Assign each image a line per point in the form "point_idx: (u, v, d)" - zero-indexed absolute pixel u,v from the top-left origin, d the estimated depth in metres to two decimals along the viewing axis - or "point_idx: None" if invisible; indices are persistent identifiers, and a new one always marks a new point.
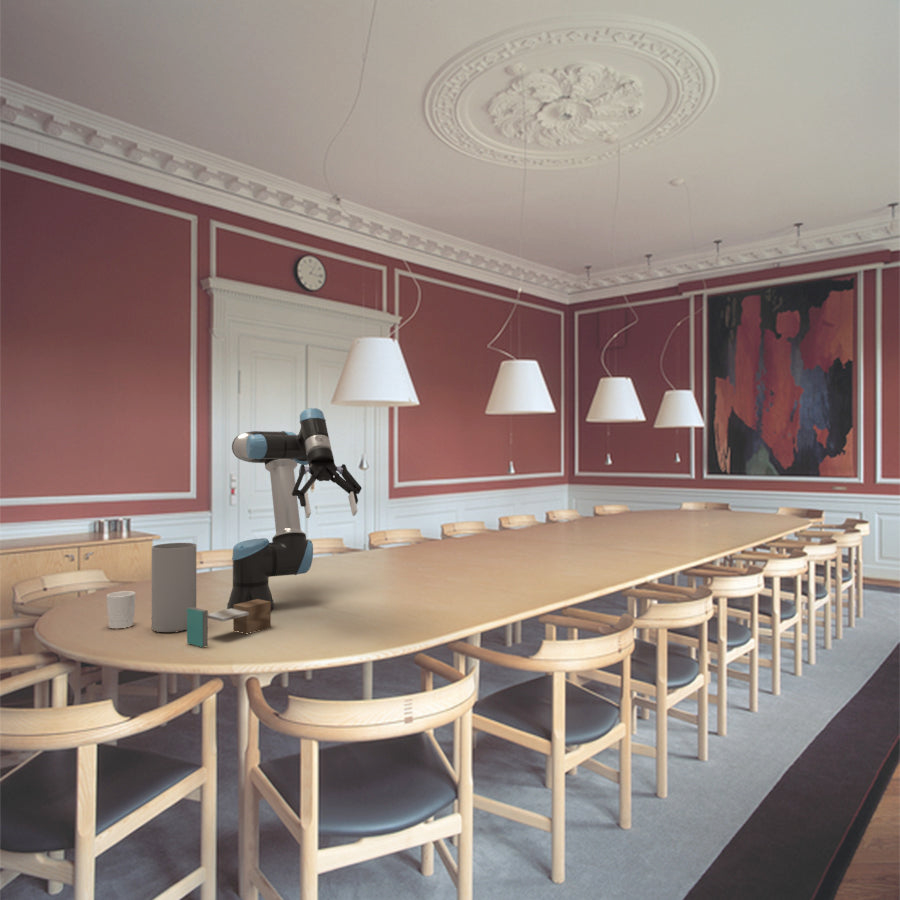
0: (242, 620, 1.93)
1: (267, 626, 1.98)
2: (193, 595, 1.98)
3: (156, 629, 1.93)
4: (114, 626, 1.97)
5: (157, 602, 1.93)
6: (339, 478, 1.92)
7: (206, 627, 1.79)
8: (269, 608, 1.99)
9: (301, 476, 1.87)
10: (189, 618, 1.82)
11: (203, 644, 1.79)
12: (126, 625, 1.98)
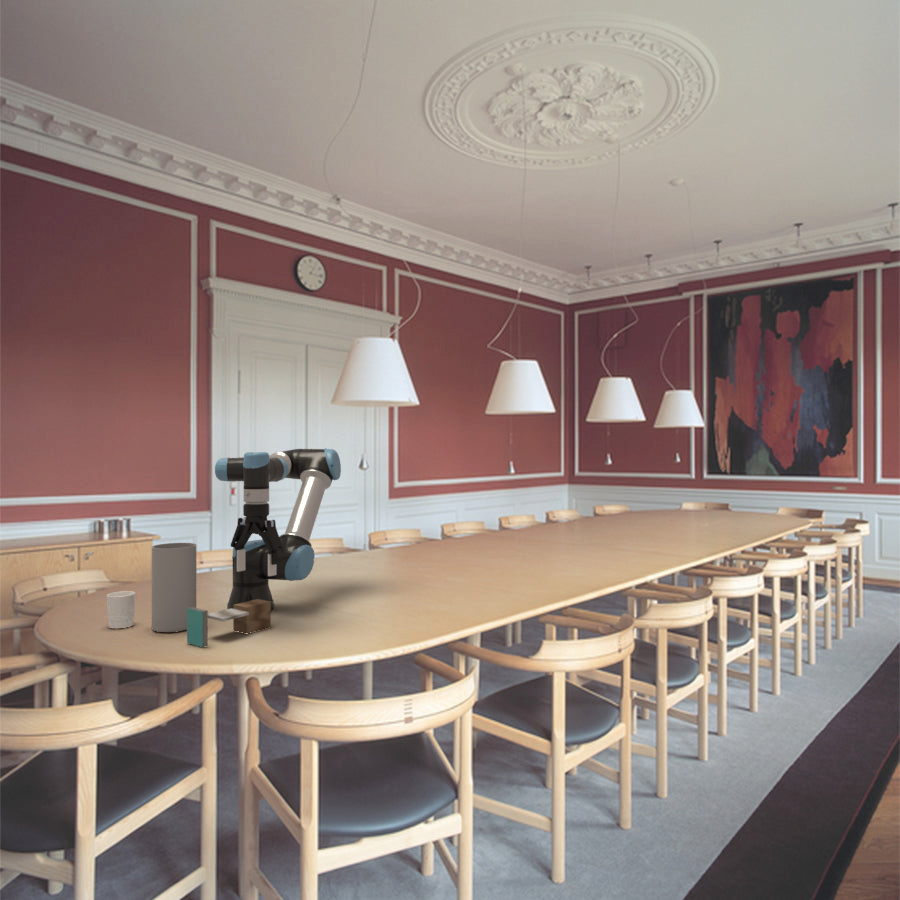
0: (242, 620, 1.93)
1: (267, 626, 1.98)
2: (193, 595, 1.98)
3: (156, 629, 1.93)
4: (114, 626, 1.97)
5: (157, 602, 1.93)
6: (262, 537, 1.94)
7: (206, 627, 1.79)
8: (269, 608, 1.99)
9: (237, 531, 2.00)
10: (189, 618, 1.82)
11: (203, 644, 1.79)
12: (126, 625, 1.98)
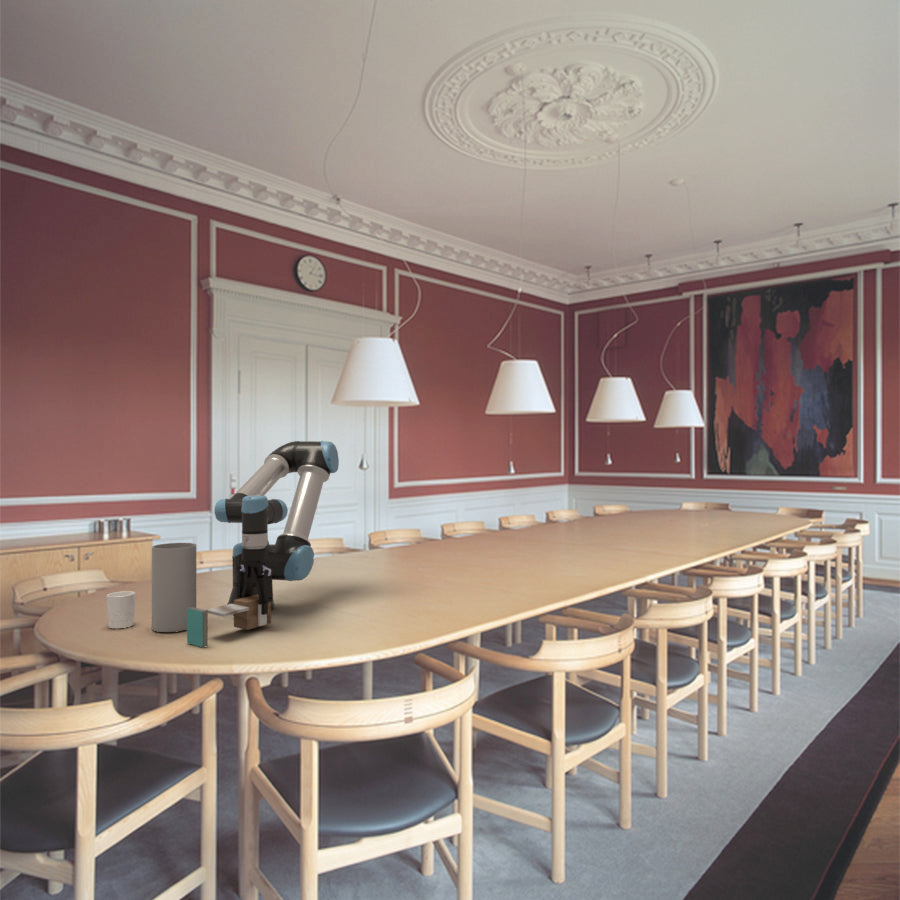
0: (242, 616, 1.93)
1: (267, 621, 1.98)
2: (193, 595, 1.98)
3: (156, 629, 1.93)
4: (114, 626, 1.97)
5: (157, 602, 1.93)
6: (257, 583, 1.95)
7: (206, 627, 1.79)
8: (269, 603, 1.99)
9: (239, 579, 2.00)
10: (189, 618, 1.82)
11: (203, 644, 1.79)
12: (126, 625, 1.98)
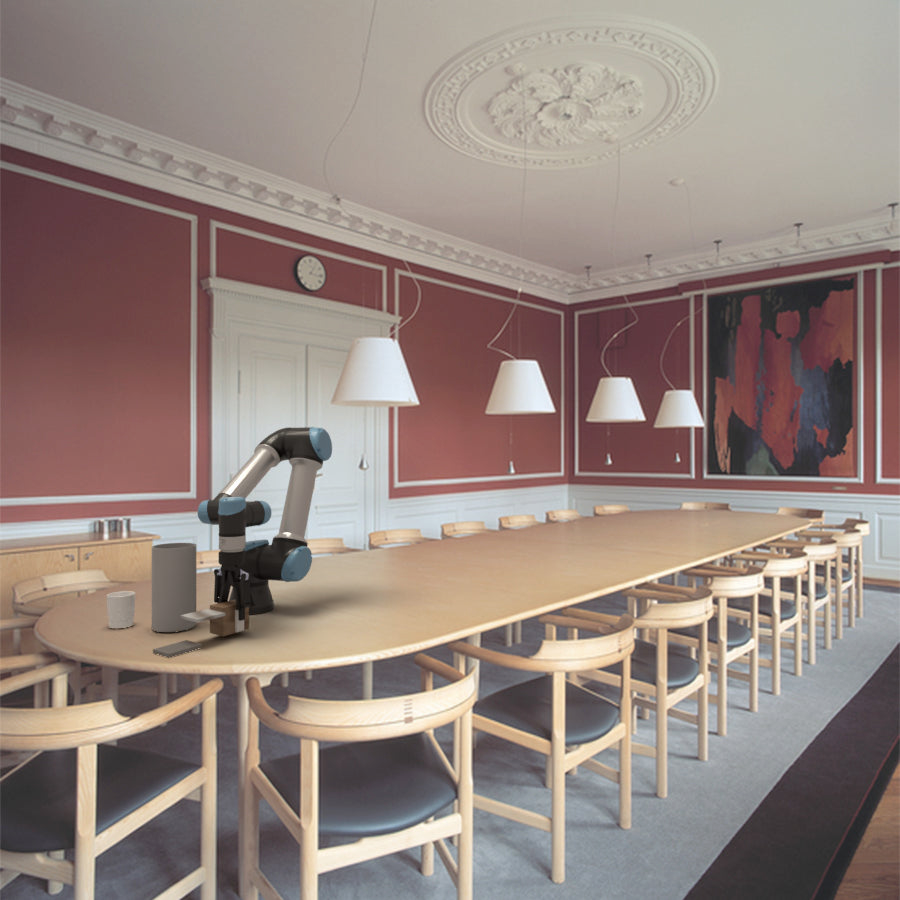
0: (218, 621, 1.86)
1: (245, 627, 1.91)
2: (193, 595, 1.98)
3: (156, 629, 1.93)
4: (114, 626, 1.97)
5: (157, 602, 1.93)
6: (234, 588, 1.88)
7: (184, 650, 1.74)
8: (247, 609, 1.92)
9: (216, 583, 1.93)
10: None
11: None
12: (126, 625, 1.98)
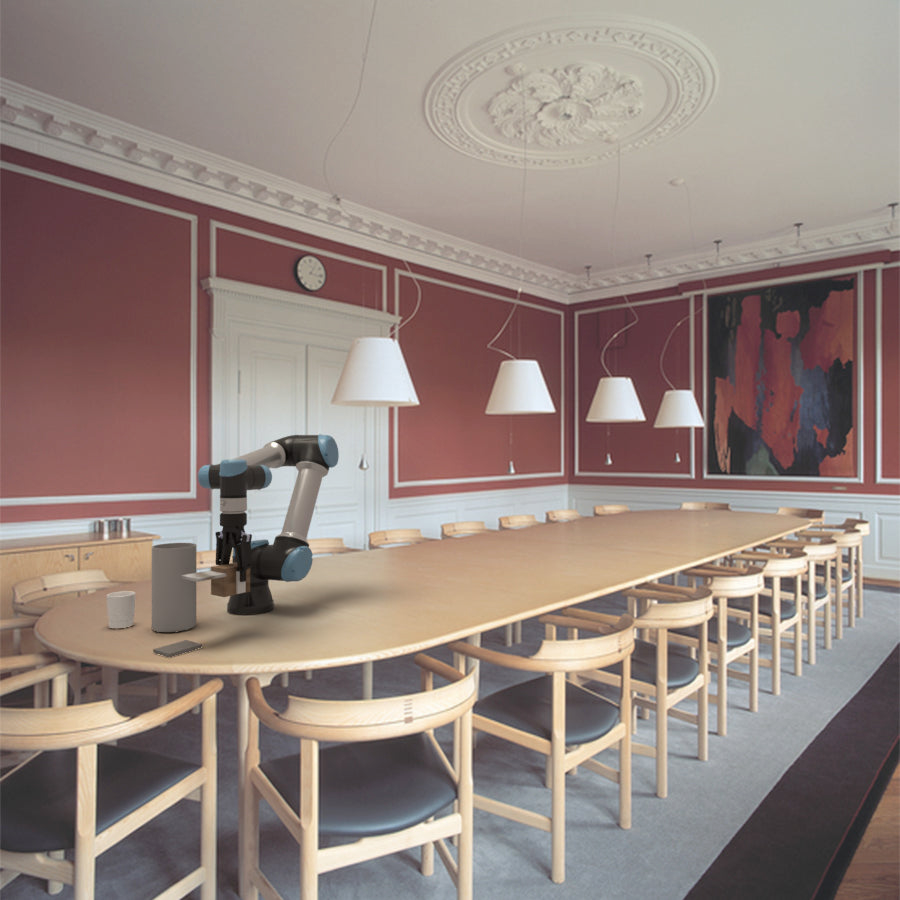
0: (219, 582, 1.86)
1: (246, 590, 1.91)
2: (193, 595, 1.98)
3: (156, 629, 1.93)
4: (114, 626, 1.97)
5: (157, 602, 1.93)
6: (235, 550, 1.88)
7: (184, 650, 1.74)
8: (248, 571, 1.92)
9: (217, 546, 1.93)
10: None
11: None
12: (126, 625, 1.98)
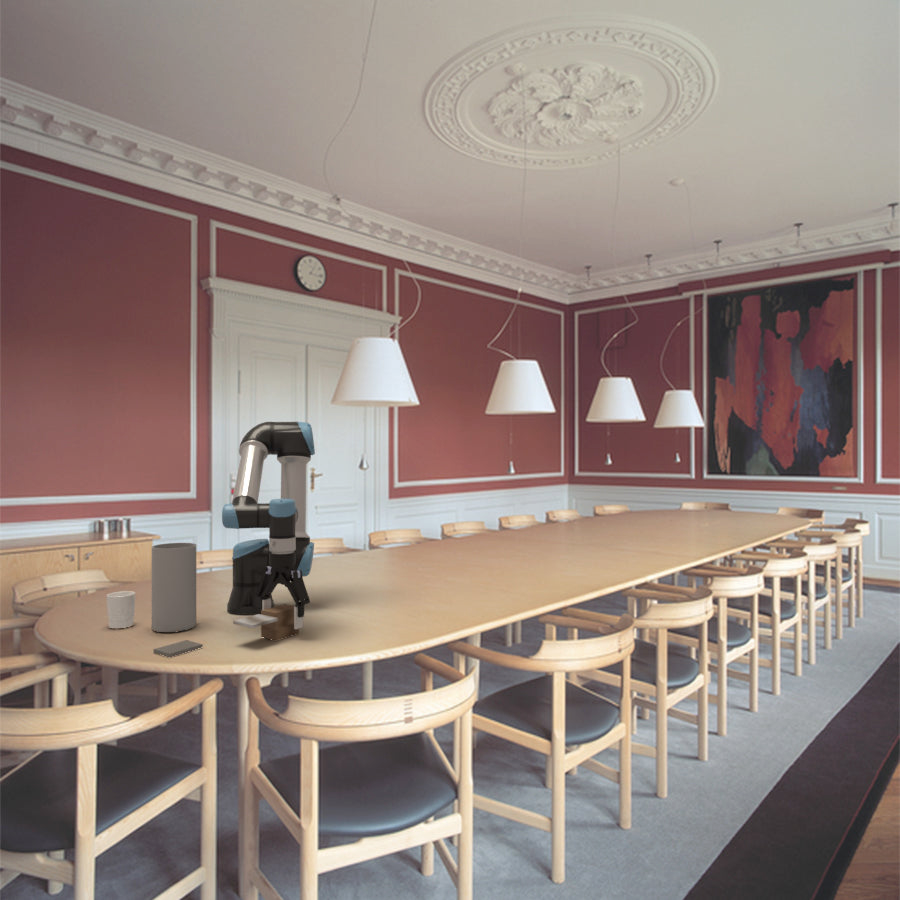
0: (270, 626, 1.86)
1: (295, 632, 1.91)
2: (193, 595, 1.98)
3: (156, 629, 1.93)
4: (114, 626, 1.97)
5: (157, 602, 1.93)
6: (288, 588, 1.88)
7: (185, 650, 1.74)
8: None
9: (262, 580, 1.94)
10: None
11: None
12: (126, 625, 1.98)
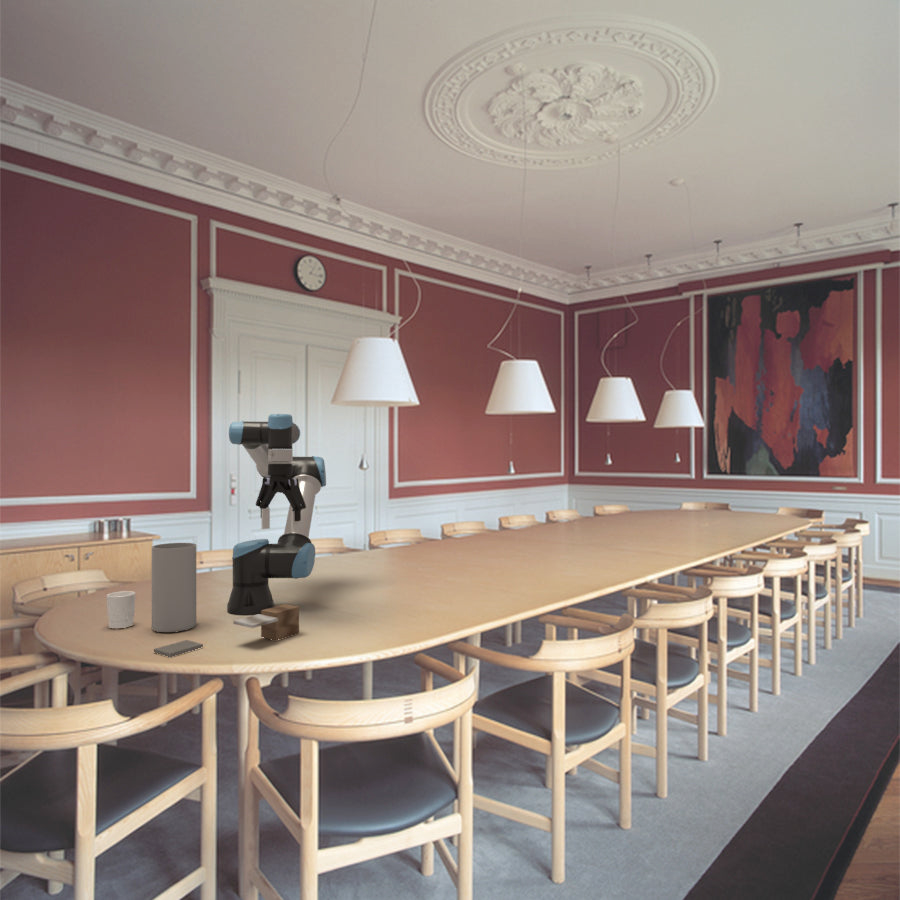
0: (270, 626, 1.86)
1: (295, 632, 1.91)
2: (193, 595, 1.98)
3: (156, 629, 1.93)
4: (114, 626, 1.97)
5: (157, 602, 1.93)
6: (286, 495, 2.03)
7: (185, 650, 1.74)
8: (297, 613, 1.92)
9: (261, 490, 2.09)
10: None
11: None
12: (126, 625, 1.98)
